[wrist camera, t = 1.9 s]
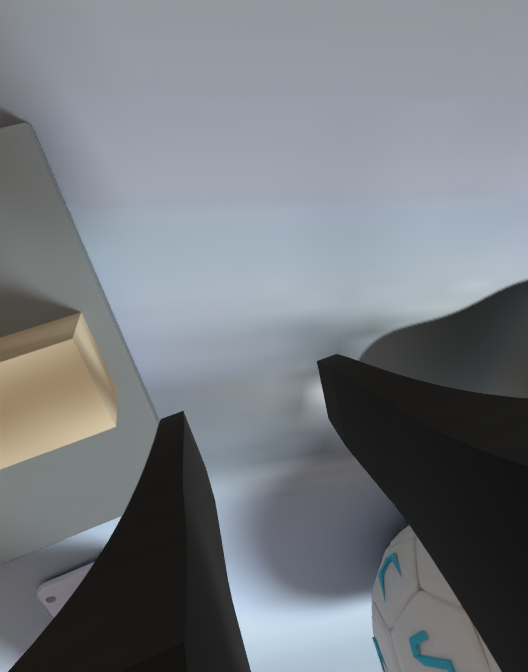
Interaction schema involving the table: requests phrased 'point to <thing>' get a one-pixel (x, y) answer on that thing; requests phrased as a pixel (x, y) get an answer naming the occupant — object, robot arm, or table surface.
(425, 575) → the puzzle ball
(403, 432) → the robot arm
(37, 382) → the t block
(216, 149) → the table surface
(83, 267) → the slate board
